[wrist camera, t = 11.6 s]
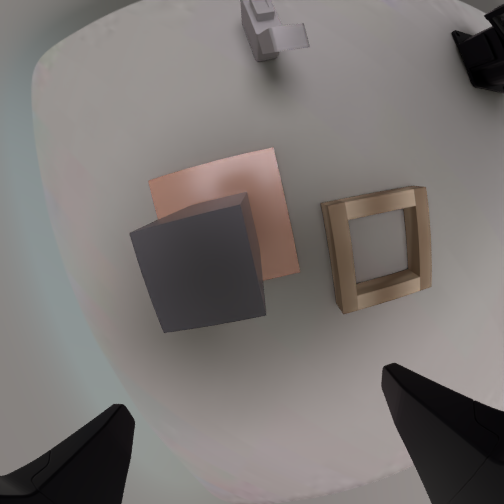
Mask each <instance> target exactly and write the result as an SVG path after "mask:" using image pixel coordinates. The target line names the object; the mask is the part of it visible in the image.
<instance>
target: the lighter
mask: <svg viewBox="0 0 504 504" xmlns="http://www.w3.org/2000/svg"><path fill="white" fill-rule="evenodd" d="M240 2H241V15H242V25H243V28H244V30H245V33H246V35H247V38H248V41H249V44H250V46H251V49H252V52H253V55H254V57H255V60H256V61H258V62H260V61H265V60H270V59H275V58H277V57H278V55H279V51H285V50H292V49H299V48H307V47H310V46H309V42H308V38H307V34H306V30H305V26H304V23H300V24H291V25H284V26H283V25H282V23H281V21H280V18H279V16H278V14H277V12H276V10H275V7H274V5H273V3H272V1H271V0H240Z"/></svg>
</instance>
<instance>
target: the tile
mask: <svg viewBox="0 0 504 504" xmlns="http://www.w3.org/2000/svg"><path fill="white" fill-rule="evenodd" d="M149 186H150V190H151V194H152V198H153V202H154V205H155V209H156V213H157V217H158V220H159V219H161V218H163V217H165V216H167V215H170V214H172V213H174V212H177V211H179V210H181V209H183V208H186V207H188V206H190V205H194V204H198V203H202V202H206V201H210V200H214V199H218V198H222V197H226V196H230V195H235V194H239V193H243V192H247V194H248V199H249V203H250V207H251V212H252V216H253V220H254V225H255V229H256V233H257V238H258V242H259V247H260V255H261V265H262V275H263V281H264V280H268V279H273V278H277V277H282V276H286V275H290V274H295V273H299V272H300V269H299V263H298V258H297V253H296V248H295V243H294V238H293V233H292V228H291V223H290V219H289V214H288V209H287V205H286V200H285V195H284V191H283V186H282V182H281V178H280V173H279V169H278V165H277V161H276V156H275V152H274V148H273V147H272V148H268V149H263V150H258V151H254V152H249V153H245V154H241V155H237V156H232V157H228V158H224V159H220V160H217V161H213V162H209V163H205V164H202V165H198V166H195V167H191V168H188V169H184V170H181V171H177V172H174V173H171V174H168V175H165V176H161V177H158V178H155V179H152V180H149Z"/></svg>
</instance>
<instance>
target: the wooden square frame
mask: <svg viewBox="0 0 504 504" xmlns="http://www.w3.org/2000/svg"><path fill="white" fill-rule="evenodd" d="M321 208H322V213H323V218H324V224H325V230H326V235H327V241H328V248H329V254H330V260H331V267H332V274H333V281H334V289H335V297H336V303H337V305H338V306H339V308H340V310H341V311H342V313H343V314H346V313H350V312H353V311H357V310H361V309H364V308H367V307H371V306H374V305H378V304H381V303H384V302H387V301H391V300H394V299H397V298H400V297H403V296H406V295H409V294H412V293H415V292H418V291H421V290H424V289H426V288H429V287H431V278H432V261H431V234H430V219H429V208H428V199H427V191H426V187H420V186H408V187H403V188H397V189H391V190H386V191H380V192H375V193H370V194H364V195H359V196H354V197H349V198H344V199H339V200H334V201H329V202H324V203H321ZM402 208H403V209H404V218H405V228H406V239H407V255H408V269H407V270H404V271H400V272H397V273H394V274H390V275H387V276H383V277H380V278H376V279H372V280H369V281H365V282H362V283H358V284H356V278H355V269H354V260H353V252H352V244H351V237H350V230H349V224H348V220H351V219H355V218H360V217H365V216H369V215H374V214H379V213H383V212H388V211H393V210H398V209H402Z"/></svg>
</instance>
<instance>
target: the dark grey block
mask: <svg viewBox="0 0 504 504" xmlns="http://www.w3.org/2000/svg"><path fill="white" fill-rule="evenodd" d="M130 237H131V240H132V244H133V247H134V250H135V253H136V257H137V260H138V263H139V266H140V269H141V272H142V275H143V278H144V281H145V284H146V287H147V290H148V292H149V295H150V298H151V301H152V303H153V306H154V309H155V311H156V314H157V317H158V319H159V322H160V324H161V327H162V329H163V332H164V333H166V332H174V331H180V330H187V329H194V328H200V327H206V326H212V325H218V324H223V323H229V322H235V321H240V320H245V319H250V318H256V317H261V316H265V315H266V306H265V296H264V286H263V275H262V265H261V255H260V247H259V242H258V238H257V233H256V229H255V225H254V220H253V216H252V212H251V207H250V203H249V199H248V194H247V192H243V193H239V194H235V195H230V196H226V197H222V198H218V199H214V200H210V201H206V202H202V203H198V204H194V205H190V206H188V207H186V208H183V209H181V210H179V211H177V212H174V213H172V214H170V215H167V216H165V217H163V218H161V219H159V220H156V221H154V222H152V223H150V224H148V225H145V226H143V227H141V228H139V229H137V230H135V231H133V232H131V233H130Z"/></svg>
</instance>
